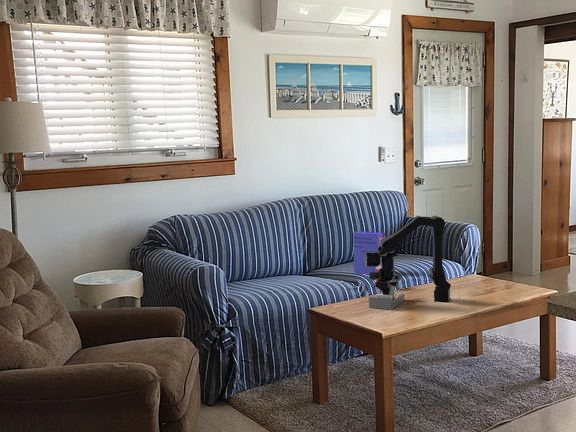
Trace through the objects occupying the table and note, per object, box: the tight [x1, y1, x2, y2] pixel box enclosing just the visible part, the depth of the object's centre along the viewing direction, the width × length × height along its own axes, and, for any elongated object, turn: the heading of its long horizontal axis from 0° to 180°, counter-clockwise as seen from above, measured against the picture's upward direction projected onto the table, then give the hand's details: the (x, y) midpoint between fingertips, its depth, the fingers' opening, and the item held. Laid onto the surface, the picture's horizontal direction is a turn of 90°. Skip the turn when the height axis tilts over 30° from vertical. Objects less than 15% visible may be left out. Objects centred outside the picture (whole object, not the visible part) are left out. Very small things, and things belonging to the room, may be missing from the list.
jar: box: [380, 285, 396, 300], centre depth 304 cm, size 6×6×7 cm
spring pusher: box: [375, 293, 392, 298], centre depth 299 cm, size 7×1×4 cm, turn 62°
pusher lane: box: [368, 293, 406, 311], centre depth 302 cm, size 10×19×5 cm, turn 152°
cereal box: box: [352, 230, 386, 276], centre depth 366 cm, size 17×5×24 cm, turn 58°
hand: (388, 298), depth 304 cm, fingers closed on jar, 6 cm apart
